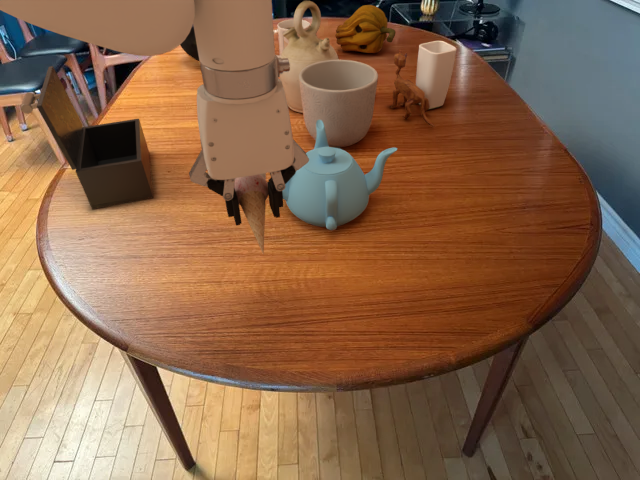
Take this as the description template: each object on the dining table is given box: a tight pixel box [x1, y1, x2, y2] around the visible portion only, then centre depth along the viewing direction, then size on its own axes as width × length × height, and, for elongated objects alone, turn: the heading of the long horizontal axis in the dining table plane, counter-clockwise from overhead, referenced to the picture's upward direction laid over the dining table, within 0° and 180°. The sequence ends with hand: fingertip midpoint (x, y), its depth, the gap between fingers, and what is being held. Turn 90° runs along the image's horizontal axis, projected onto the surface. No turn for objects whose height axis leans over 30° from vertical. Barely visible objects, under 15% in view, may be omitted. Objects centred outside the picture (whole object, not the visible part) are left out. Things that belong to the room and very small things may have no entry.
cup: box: [415, 40, 457, 110], centre depth 116 cm, size 7×7×15 cm
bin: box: [75, 118, 154, 210], centre depth 95 cm, size 12×18×9 cm, turn 18°
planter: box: [299, 59, 379, 148], centre depth 105 cm, size 17×17×15 cm
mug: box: [273, 18, 311, 58], centre depth 141 cm, size 10×12×11 cm
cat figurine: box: [389, 48, 436, 128], centre depth 112 cm, size 18×7×14 cm, turn 27°
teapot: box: [283, 120, 398, 231], centre depth 86 cm, size 17×19×12 cm
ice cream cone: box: [234, 173, 269, 256], centre depth 58 cm, size 5×5×15 cm
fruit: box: [334, 4, 396, 54], centre depth 146 cm, size 14×16×20 cm
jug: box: [279, 0, 340, 114], centre depth 115 cm, size 15×16×25 cm
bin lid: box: [20, 65, 83, 171], centre depth 86 cm, size 13×18×5 cm
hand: (255, 213), depth 60 cm, fingers closed on ice cream cone, 4 cm apart
